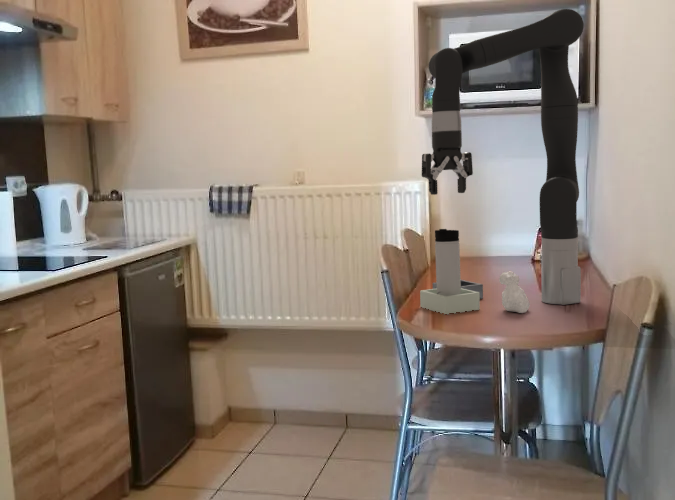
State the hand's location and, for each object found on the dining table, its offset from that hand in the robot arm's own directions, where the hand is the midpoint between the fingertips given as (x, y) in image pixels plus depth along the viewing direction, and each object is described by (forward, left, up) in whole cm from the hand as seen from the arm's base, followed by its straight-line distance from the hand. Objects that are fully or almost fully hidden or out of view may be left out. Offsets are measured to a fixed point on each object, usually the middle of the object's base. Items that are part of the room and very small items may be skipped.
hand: (447, 193), depth 182 cm
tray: (0, 0, -30) cm, 30 cm away
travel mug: (0, 0, -29) cm, 29 cm away
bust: (-12, -11, -30) cm, 35 cm away
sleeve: (+11, -10, -30) cm, 34 cm away
